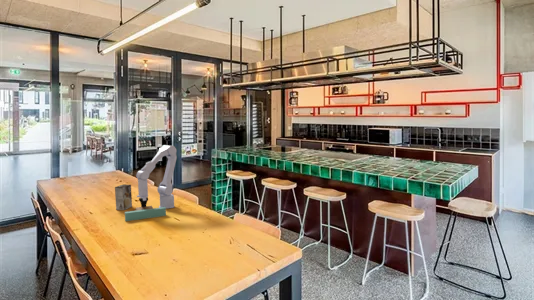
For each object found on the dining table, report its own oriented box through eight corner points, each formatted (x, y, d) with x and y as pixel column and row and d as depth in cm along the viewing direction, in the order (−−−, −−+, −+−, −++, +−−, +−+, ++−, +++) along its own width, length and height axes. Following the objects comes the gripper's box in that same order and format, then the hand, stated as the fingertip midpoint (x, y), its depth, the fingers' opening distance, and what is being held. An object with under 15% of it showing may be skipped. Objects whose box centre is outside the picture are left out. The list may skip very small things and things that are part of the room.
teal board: (165, 214, 203) (164, 206, 203) (165, 215, 201) (165, 208, 200) (125, 219, 192) (124, 212, 192) (125, 221, 189) (125, 213, 189)
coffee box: (124, 206, 221) (123, 184, 220) (132, 206, 220) (131, 184, 218) (115, 209, 212) (114, 186, 211) (123, 210, 211) (122, 187, 209)
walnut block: (152, 212, 207) (151, 205, 206) (153, 216, 200) (153, 208, 199) (135, 215, 202) (135, 207, 202) (137, 218, 195) (136, 210, 195)
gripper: (135, 187, 209) (136, 206, 210) (137, 191, 196) (138, 212, 197) (146, 186, 212) (147, 205, 213) (149, 190, 199) (150, 211, 200)
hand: (143, 208), depth 205 cm, fingers closed
